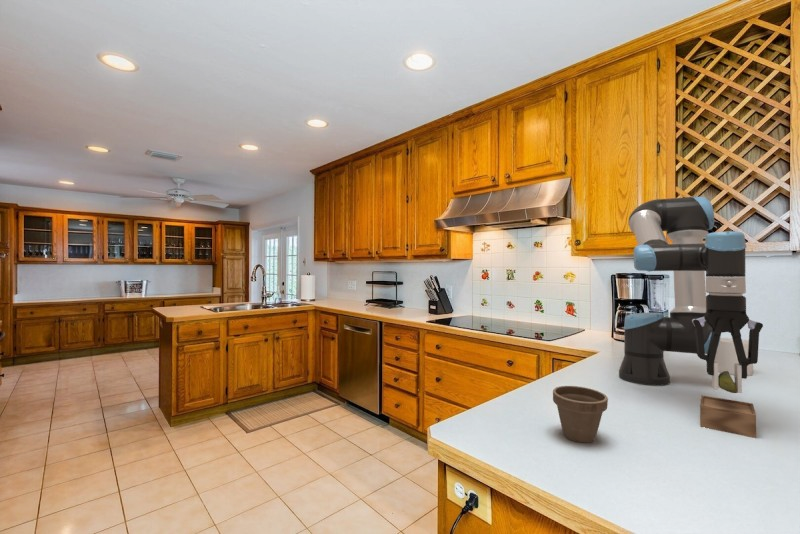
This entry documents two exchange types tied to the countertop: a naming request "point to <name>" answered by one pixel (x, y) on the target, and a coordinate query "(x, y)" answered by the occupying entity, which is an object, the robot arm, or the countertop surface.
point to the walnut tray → (728, 416)
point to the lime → (726, 382)
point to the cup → (730, 356)
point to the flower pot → (579, 411)
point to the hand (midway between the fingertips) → (726, 389)
